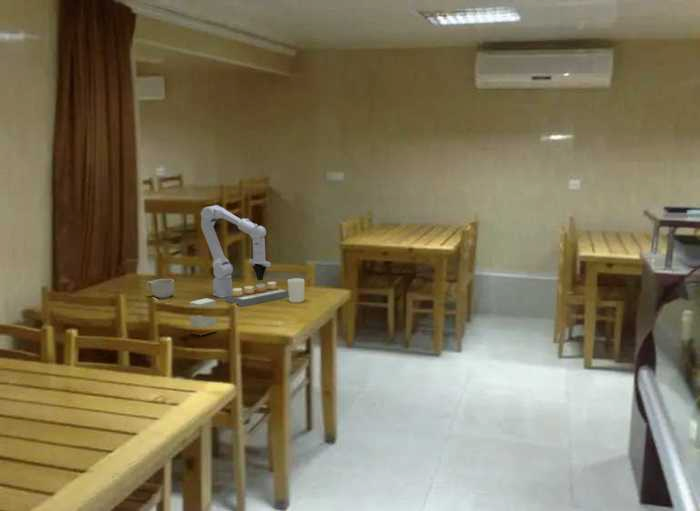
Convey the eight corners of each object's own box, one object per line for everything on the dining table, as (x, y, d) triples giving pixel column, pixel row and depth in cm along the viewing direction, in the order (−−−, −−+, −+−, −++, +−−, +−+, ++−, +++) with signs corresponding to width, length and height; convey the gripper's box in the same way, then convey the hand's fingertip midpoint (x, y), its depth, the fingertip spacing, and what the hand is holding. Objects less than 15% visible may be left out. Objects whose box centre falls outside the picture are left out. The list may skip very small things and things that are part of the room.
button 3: (254, 292, 318) (253, 284, 317) (261, 291, 321) (261, 283, 320) (259, 294, 315) (259, 286, 314) (267, 292, 318) (266, 284, 317)
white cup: (302, 303, 306) (301, 282, 304) (286, 302, 307) (285, 281, 305) (307, 299, 313) (306, 278, 311) (291, 298, 315) (290, 278, 313)
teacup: (179, 295, 325) (178, 279, 324) (164, 300, 316) (163, 284, 314) (157, 293, 331) (156, 277, 330) (142, 298, 322) (140, 281, 320)
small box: (207, 329, 265) (205, 297, 263) (217, 332, 261) (215, 300, 259) (190, 334, 259) (188, 301, 257) (200, 337, 255) (198, 304, 253)
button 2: (242, 295, 314) (242, 286, 313) (250, 293, 317) (250, 285, 316) (248, 296, 311) (247, 288, 310) (255, 295, 313) (255, 286, 313)
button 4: (265, 290, 322) (265, 282, 322) (272, 289, 325) (272, 281, 325) (270, 292, 319) (270, 283, 318) (278, 290, 322) (277, 282, 321)
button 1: (231, 297, 309) (230, 289, 309) (239, 295, 312) (238, 287, 312) (236, 298, 306) (235, 290, 306) (244, 297, 309) (243, 288, 308)
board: (226, 301, 311) (225, 294, 311) (271, 292, 328) (271, 286, 328) (242, 306, 301) (242, 299, 300) (288, 297, 318) (288, 290, 318)
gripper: (243, 251, 317) (244, 279, 319) (261, 254, 307) (262, 283, 309) (255, 249, 322) (256, 276, 324) (273, 252, 311) (274, 280, 314)
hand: (260, 279), depth 317 cm, fingers closed
